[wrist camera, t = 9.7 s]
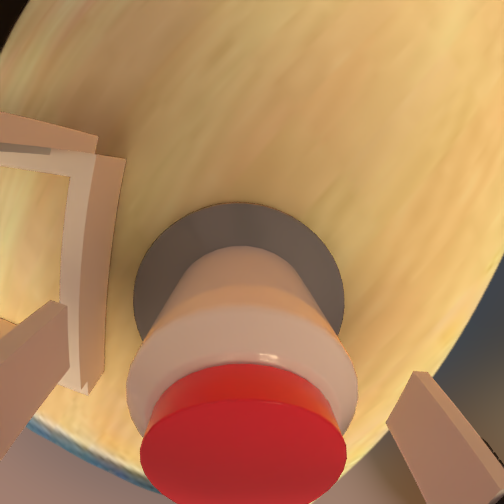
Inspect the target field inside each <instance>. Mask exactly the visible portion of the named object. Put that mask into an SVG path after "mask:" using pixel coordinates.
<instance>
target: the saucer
mask: <svg viewBox="0 0 504 504" xmlns="http://www.w3.org/2000/svg"><path fill="white" fill-rule="evenodd" d="M229 246H252V247H257V248H262V249H265V250H267V251H270V252H272V253H275V254H276V255H278V256H280V257H281V258H283V259H284V260H286V261H287V262H288V263H289V264H290V265H291V266H292V267H293V268H294V269H295V270H296V271H297V272H298V274H299V275H300V277H301V278H302V280H303V281H304V283H305V284H306V286H307V287H308V289H309V291H310V292H311V294H312V295H313V297H314V299H315V300H316V302H317V304H318V305H319V307H320V308H321V310H322V312H323V313H324V315H325V317H326V318H327V320H328V321H329V323H330V325H331V326H332V328H333V330H334V331H335V333H336V335H337V336H338V334H339V331H340V327H341V324H342V320H343V313H344V290H343V283H342V279H341V276H340V273H339V269H338V267H337V265H336V263H335V261H334V258H333V256H332V255H331V253H330V252H329V250H328V249H327V247H326V246H325V244H324V243H323V242H322V241H321V240H320V239H319V238H318V237H317V235H316V234H315V233H313V232H312V231H311V230H310V229H309V228H308V227H306V226H305V225H304V224H302V223H301V222H299V221H298V220H296V219H295V218H293V217H292V216H290V215H288V214H286V213H284V212H282V211H279V210H277V209H274V208H271V207H268V206H264V205H260V204H253V203H242V202H232V203H223V204H217V205H213V206H209V207H205V208H202V209H200V210H197V211H195V212H193V213H191V214H189V215H187V216H185V217H184V218H182V219H180V220H179V221H177V222H175V223H174V224H173V225H172V226H170V227H169V228H168V229H167V230H165V231H164V232H163V233H162V234H161V235H160V236H159V237H158V238H157V239H156V241H155V242H154V243H153V244H152V246H151V247H150V249H149V250H148V251H147V253H146V255H145V257H144V259H143V261H142V263H141V265H140V267H139V270H138V273H137V276H136V281H135V286H134V296H133V306H134V316H135V320H136V324H137V328H138V331H139V333H140V336H141V338H142V341H144V339H145V338H146V336H147V334H148V332H149V331H150V329H151V327H152V325H153V324H154V322H155V320H156V318H157V317H158V315H159V313H160V312H161V310H162V308H163V306H164V305H165V303H166V301H167V300H168V298H169V296H170V295H171V293H172V291H173V290H174V288H175V286H176V285H177V283H178V281H179V280H180V278H181V276H182V275H183V273H184V272H185V271H186V270H187V269H188V268H189V267H190V266H191V264H192V263H194V262H195V261H196V260H198V259H199V258H201V257H202V256H204V255H205V254H207V253H210V252H212V251H214V250H217V249H220V248H225V247H229Z"/></svg>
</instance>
